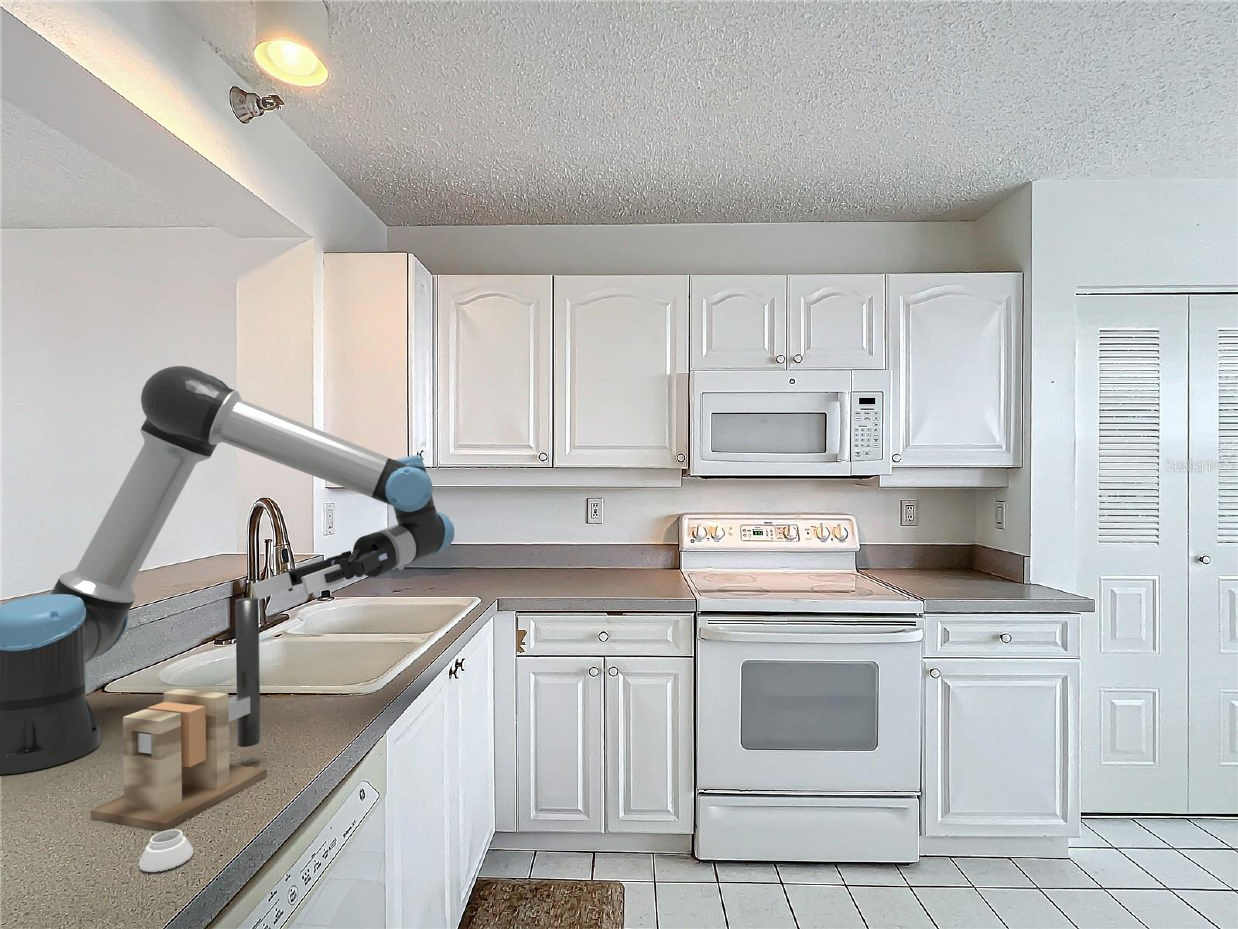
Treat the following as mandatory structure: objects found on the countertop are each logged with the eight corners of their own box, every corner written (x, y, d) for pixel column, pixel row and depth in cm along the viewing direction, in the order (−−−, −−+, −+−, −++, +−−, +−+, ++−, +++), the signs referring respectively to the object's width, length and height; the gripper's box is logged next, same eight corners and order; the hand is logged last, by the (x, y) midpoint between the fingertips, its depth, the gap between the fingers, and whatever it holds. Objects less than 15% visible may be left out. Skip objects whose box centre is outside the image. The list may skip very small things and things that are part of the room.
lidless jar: (199, 848, 83) (149, 854, 82) (198, 822, 83) (149, 828, 82) (184, 872, 79) (131, 878, 77) (183, 844, 79) (131, 851, 77)
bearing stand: (90, 818, 91) (89, 713, 91) (199, 767, 106) (198, 677, 106) (165, 831, 87) (163, 722, 87) (266, 776, 102) (265, 683, 102)
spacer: (147, 761, 95) (147, 707, 95) (164, 754, 98) (164, 701, 98) (189, 767, 93) (188, 712, 93) (206, 759, 96) (205, 706, 96)
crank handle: (136, 790, 92) (134, 622, 92) (248, 738, 109) (246, 597, 109) (154, 793, 91) (152, 623, 91) (265, 740, 108) (263, 598, 108)
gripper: (437, 564, 126) (335, 607, 108) (344, 577, 139) (240, 617, 121) (426, 522, 125) (321, 558, 107) (334, 539, 138) (227, 573, 120)
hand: (278, 589), depth 114 cm, fingers open, 13 cm apart
